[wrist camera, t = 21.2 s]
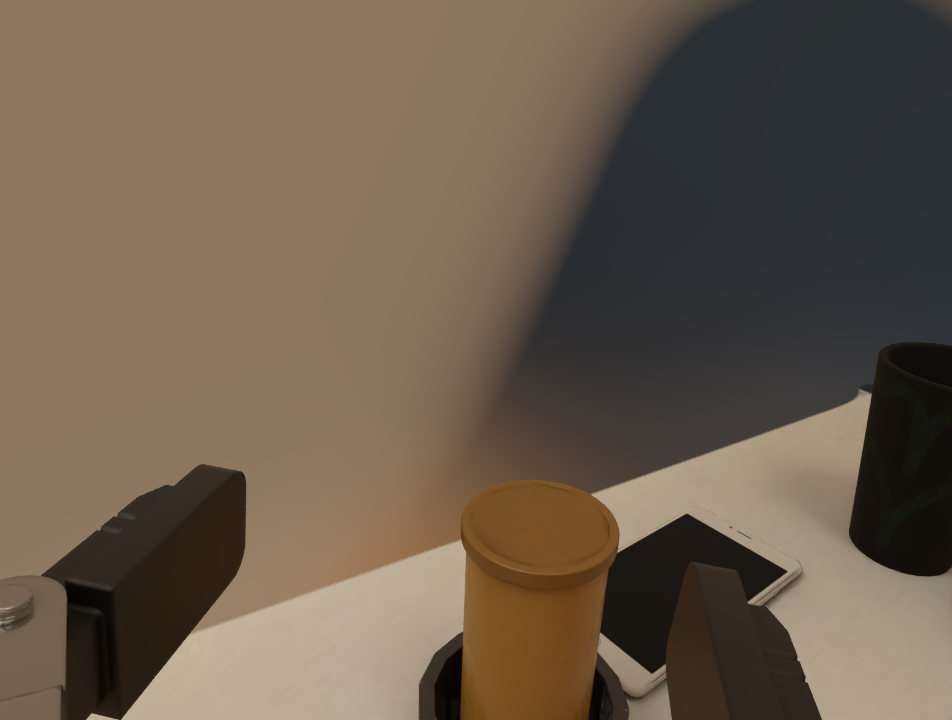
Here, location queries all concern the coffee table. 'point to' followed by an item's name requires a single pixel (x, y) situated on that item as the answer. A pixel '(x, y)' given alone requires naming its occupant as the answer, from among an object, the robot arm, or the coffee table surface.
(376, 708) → the coffee table surface
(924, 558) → the cup
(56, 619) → the robot arm
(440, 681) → the pod chamber
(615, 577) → the smartphone
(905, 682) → the coffee table surface
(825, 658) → the coffee table surface
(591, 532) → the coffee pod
